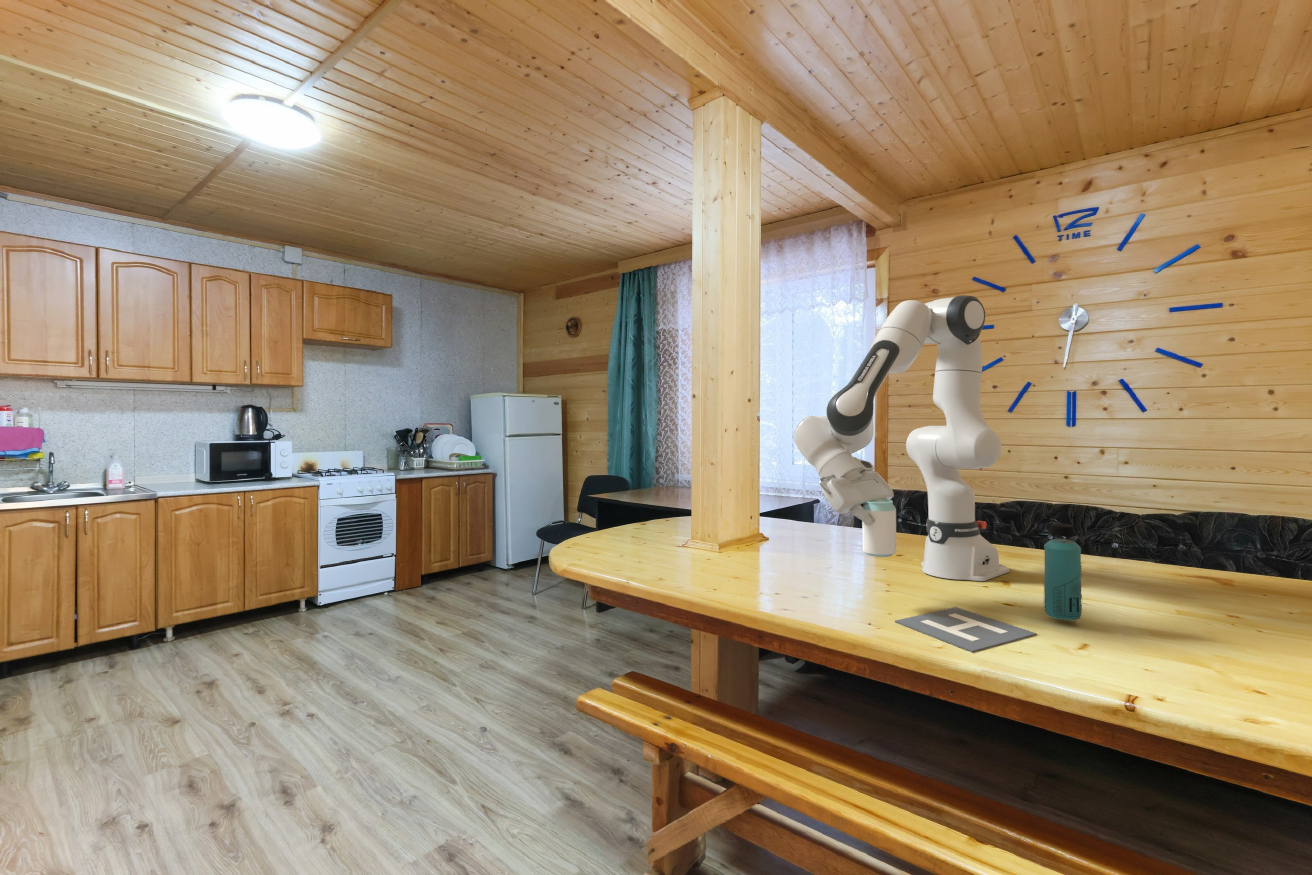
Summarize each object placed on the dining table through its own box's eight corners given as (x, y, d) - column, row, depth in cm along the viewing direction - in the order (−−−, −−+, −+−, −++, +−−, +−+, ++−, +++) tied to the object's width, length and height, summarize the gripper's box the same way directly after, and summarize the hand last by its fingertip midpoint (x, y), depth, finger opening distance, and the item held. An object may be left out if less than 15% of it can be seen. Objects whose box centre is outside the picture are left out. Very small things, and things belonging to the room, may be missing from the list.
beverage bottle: (1070, 630, 119) (1071, 528, 118) (1036, 620, 125) (1036, 523, 124) (1089, 624, 122) (1089, 524, 121) (1054, 614, 128) (1054, 520, 127)
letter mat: (955, 608, 133) (955, 606, 133) (1036, 634, 117) (1036, 632, 117) (894, 621, 126) (894, 620, 126) (972, 652, 109) (972, 650, 109)
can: (899, 558, 132) (898, 503, 131) (865, 557, 133) (864, 502, 133) (893, 550, 139) (892, 498, 138) (860, 549, 140) (860, 498, 139)
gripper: (824, 469, 134) (864, 518, 127) (874, 461, 147) (914, 506, 140) (807, 487, 137) (846, 536, 130) (858, 478, 150) (896, 523, 143)
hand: (881, 520), depth 135 cm, fingers closed on can, 7 cm apart
